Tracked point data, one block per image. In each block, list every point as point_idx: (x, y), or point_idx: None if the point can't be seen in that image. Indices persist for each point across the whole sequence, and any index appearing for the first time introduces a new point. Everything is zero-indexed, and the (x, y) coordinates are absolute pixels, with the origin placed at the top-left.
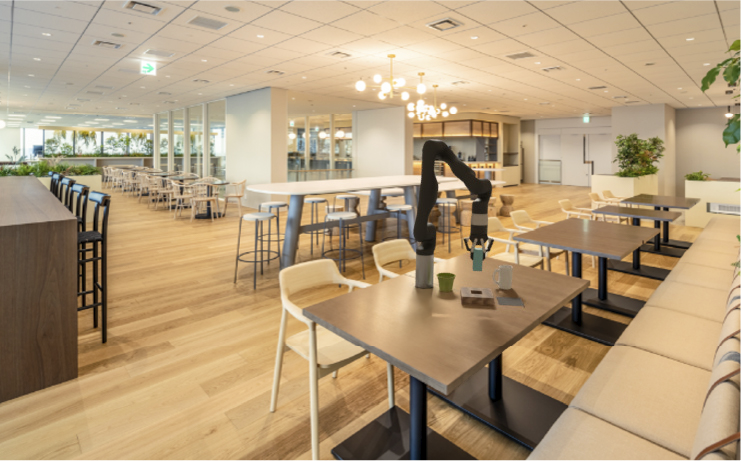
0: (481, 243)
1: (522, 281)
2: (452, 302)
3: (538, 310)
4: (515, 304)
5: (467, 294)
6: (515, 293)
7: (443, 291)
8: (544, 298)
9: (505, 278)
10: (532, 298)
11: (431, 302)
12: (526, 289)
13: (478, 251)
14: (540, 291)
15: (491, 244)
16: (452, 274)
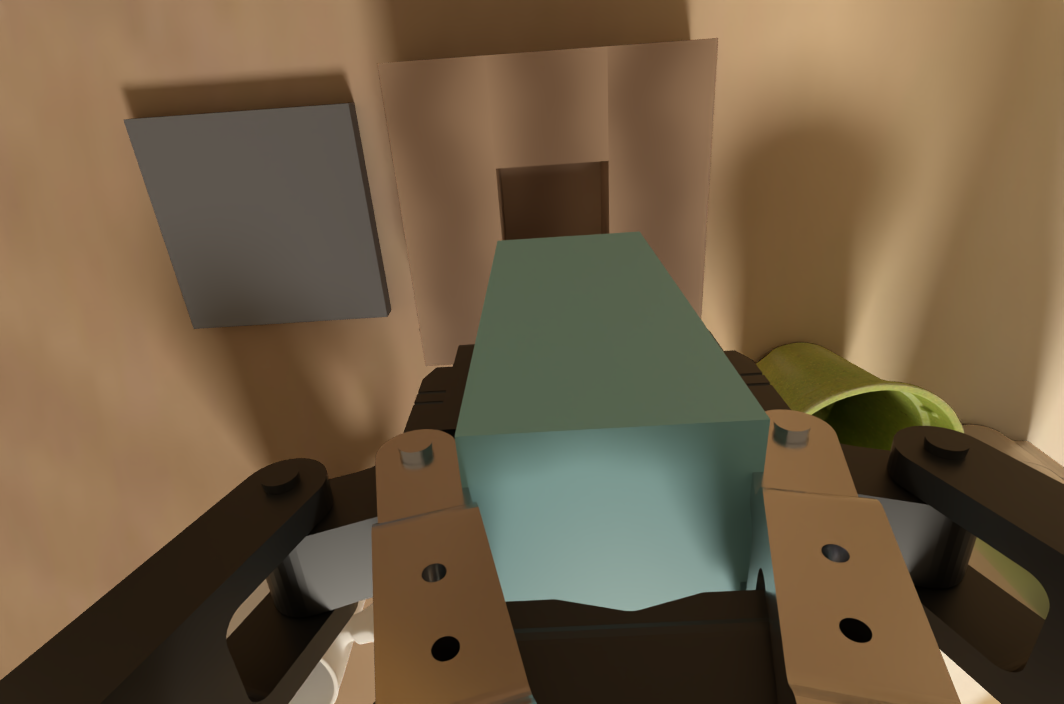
0: (506, 649)
1: None
2: (764, 128)
3: (14, 89)
4: (206, 145)
5: (650, 125)
6: (254, 452)
7: (823, 348)
8: (33, 390)
9: None
10: (117, 372)
11: (966, 81)
12: None
13: (600, 398)
14: (91, 523)
15: (61, 668)
16: None
